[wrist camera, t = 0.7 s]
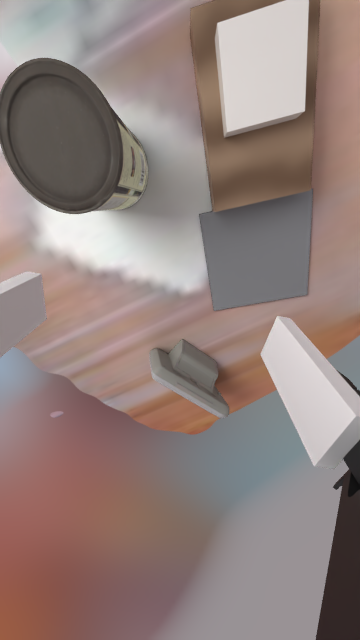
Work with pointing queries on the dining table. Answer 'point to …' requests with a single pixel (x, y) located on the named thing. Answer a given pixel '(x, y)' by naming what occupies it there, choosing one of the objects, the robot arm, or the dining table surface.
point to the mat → (258, 250)
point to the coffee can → (68, 140)
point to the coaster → (262, 66)
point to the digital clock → (189, 376)
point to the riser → (256, 145)
